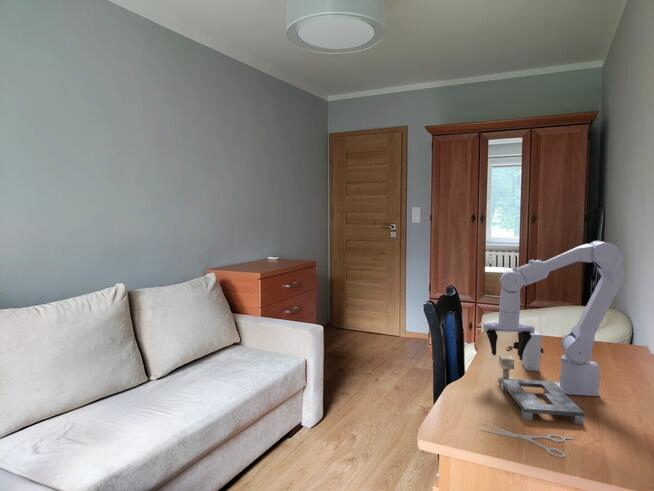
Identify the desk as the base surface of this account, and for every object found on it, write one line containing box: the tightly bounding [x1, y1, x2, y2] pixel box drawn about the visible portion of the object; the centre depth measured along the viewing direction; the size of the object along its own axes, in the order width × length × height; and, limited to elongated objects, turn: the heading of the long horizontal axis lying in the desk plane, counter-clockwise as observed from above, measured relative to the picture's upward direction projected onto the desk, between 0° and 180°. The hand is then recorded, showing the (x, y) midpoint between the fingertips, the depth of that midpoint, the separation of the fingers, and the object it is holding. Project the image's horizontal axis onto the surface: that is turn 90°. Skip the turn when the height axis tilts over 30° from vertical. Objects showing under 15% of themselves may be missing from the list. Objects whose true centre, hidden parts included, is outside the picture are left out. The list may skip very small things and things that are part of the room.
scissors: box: [481, 422, 574, 458], centre depth 101 cm, size 11×1×20 cm
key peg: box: [497, 354, 516, 383], centre depth 135 cm, size 4×4×8 cm
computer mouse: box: [506, 341, 545, 361], centre depth 162 cm, size 12×18×4 cm
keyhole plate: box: [500, 378, 585, 425], centre depth 119 cm, size 14×20×3 cm
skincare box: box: [521, 330, 542, 372], centre depth 147 cm, size 6×4×12 cm
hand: (506, 354), depth 134 cm, fingers open, 7 cm apart
